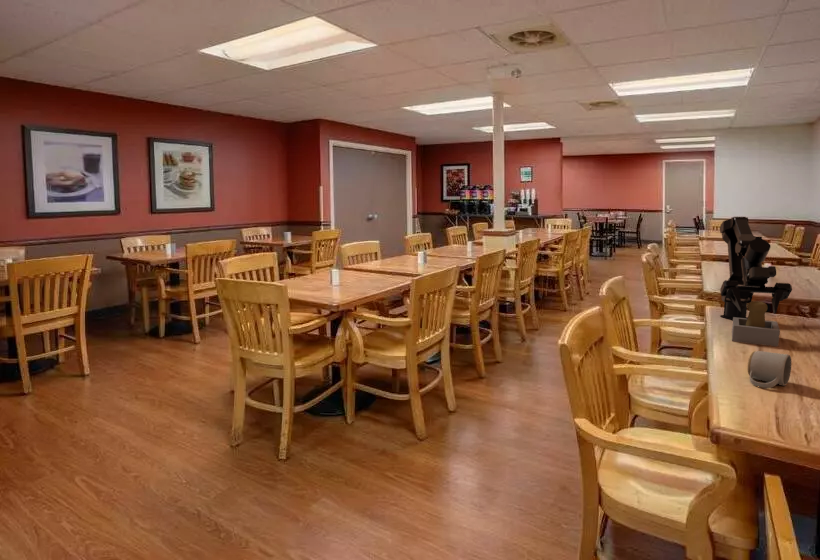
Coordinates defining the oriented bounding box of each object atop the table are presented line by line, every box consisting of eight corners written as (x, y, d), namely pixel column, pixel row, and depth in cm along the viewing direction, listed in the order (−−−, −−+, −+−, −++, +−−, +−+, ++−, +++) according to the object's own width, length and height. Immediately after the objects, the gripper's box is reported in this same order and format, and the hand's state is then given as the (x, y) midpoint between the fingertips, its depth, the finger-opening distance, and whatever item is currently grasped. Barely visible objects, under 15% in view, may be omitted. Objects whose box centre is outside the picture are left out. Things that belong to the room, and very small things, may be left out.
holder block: (731, 331, 179) (733, 317, 178) (775, 336, 173) (776, 321, 172) (732, 341, 169) (733, 325, 168) (778, 346, 163) (779, 330, 162)
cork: (765, 334, 172) (770, 301, 170) (765, 339, 167) (769, 304, 165) (743, 331, 175) (747, 298, 173) (742, 336, 170) (746, 302, 168)
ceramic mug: (753, 373, 141) (756, 345, 140) (790, 381, 135) (793, 351, 134) (740, 384, 134) (743, 355, 133) (779, 393, 128) (783, 362, 127)
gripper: (725, 255, 173) (730, 296, 164) (794, 257, 167) (802, 300, 158) (718, 275, 181) (722, 315, 173) (782, 278, 175) (790, 319, 167)
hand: (758, 312), depth 168 cm, fingers open, 9 cm apart
